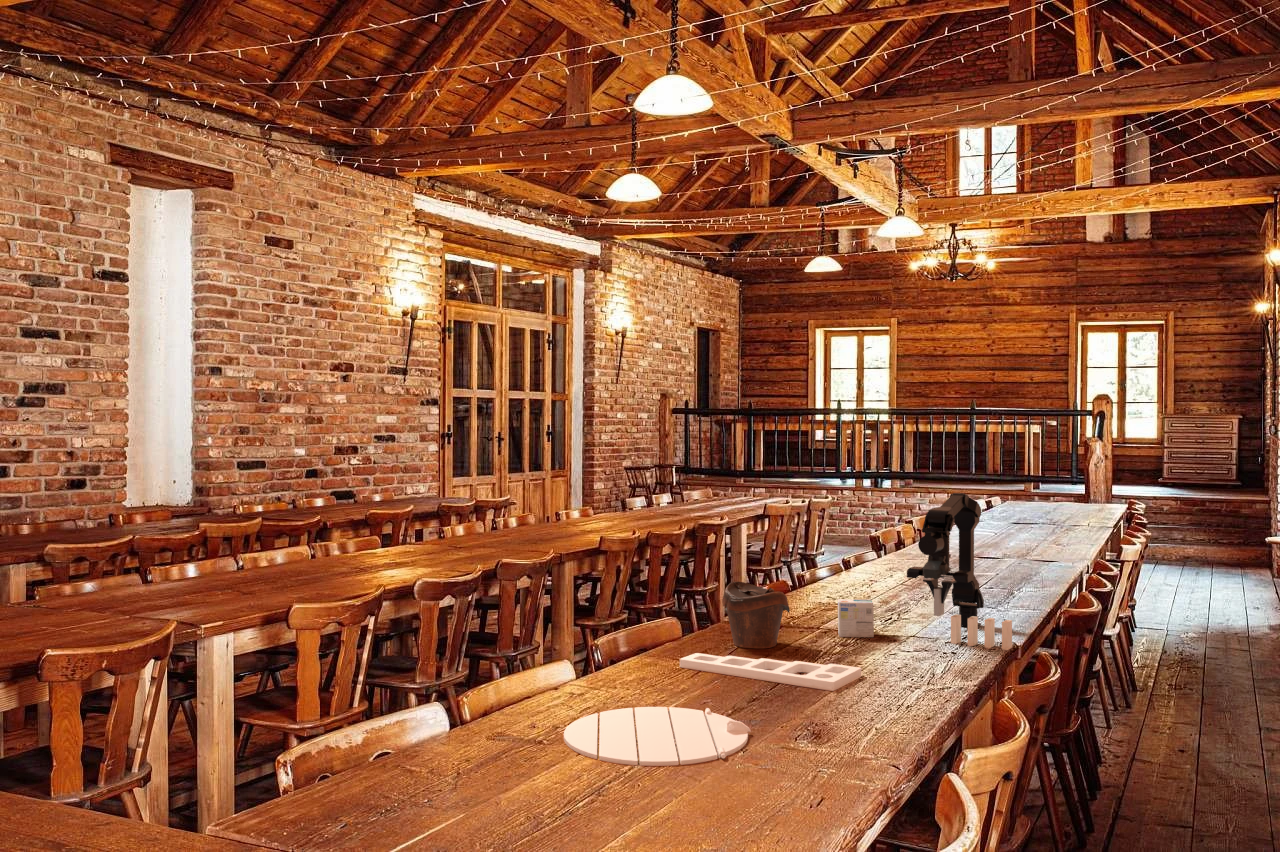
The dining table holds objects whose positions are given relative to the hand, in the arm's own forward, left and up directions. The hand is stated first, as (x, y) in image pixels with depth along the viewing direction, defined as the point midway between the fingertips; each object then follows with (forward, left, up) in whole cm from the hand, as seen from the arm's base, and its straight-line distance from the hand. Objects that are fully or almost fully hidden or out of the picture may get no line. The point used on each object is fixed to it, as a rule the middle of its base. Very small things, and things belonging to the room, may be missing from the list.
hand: (939, 603), depth 324 cm
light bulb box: (+7, -24, -12) cm, 28 cm away
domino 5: (0, +20, -11) cm, 23 cm away
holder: (+63, -24, -12) cm, 69 cm away
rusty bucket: (+36, -43, -12) cm, 57 cm away
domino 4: (0, +15, -11) cm, 19 cm away
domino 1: (0, 0, -4) cm, 4 cm away
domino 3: (0, +10, -11) cm, 15 cm away
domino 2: (0, +5, -11) cm, 12 cm away
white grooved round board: (+127, -17, -12) cm, 129 cm away
